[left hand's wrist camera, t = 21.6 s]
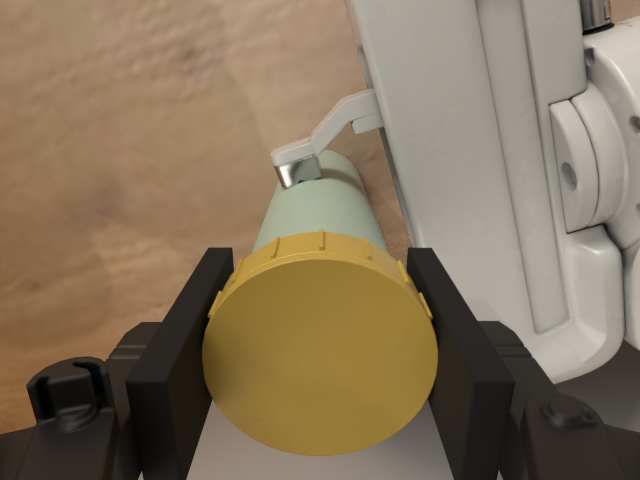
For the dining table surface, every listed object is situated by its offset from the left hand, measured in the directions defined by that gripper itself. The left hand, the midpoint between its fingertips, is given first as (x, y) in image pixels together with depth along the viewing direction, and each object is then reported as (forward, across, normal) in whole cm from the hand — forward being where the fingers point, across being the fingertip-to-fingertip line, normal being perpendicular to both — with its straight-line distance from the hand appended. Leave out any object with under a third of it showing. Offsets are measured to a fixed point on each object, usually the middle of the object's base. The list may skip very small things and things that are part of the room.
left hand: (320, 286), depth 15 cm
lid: (-4, 0, 0) cm, 4 cm away
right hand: (+6, -1, 0) cm, 6 cm away
